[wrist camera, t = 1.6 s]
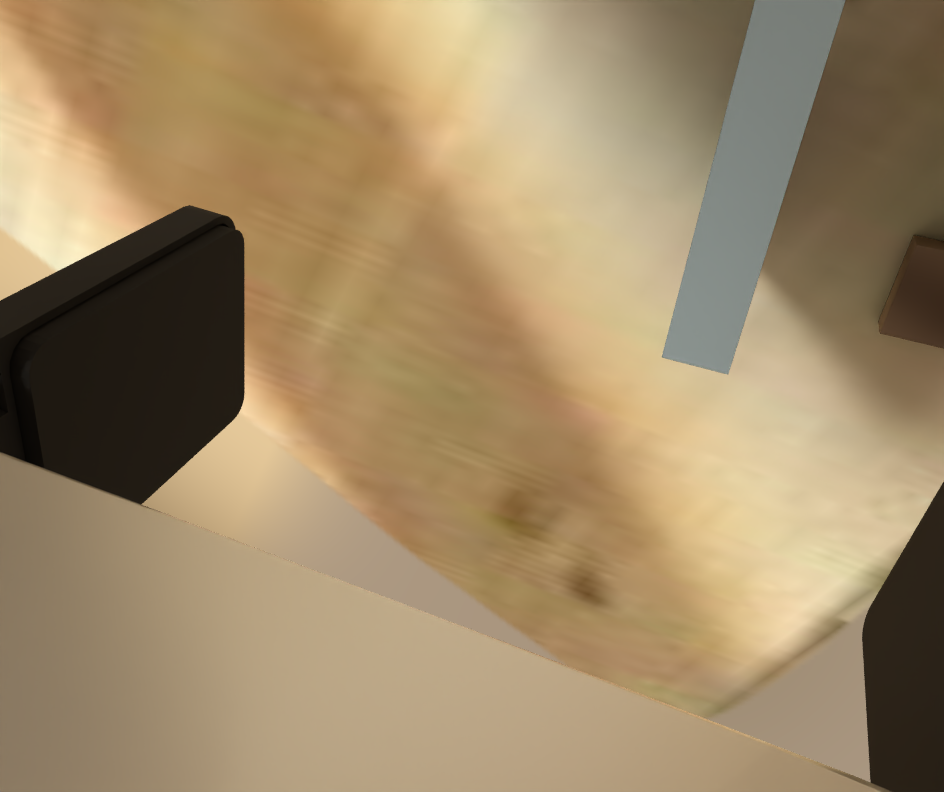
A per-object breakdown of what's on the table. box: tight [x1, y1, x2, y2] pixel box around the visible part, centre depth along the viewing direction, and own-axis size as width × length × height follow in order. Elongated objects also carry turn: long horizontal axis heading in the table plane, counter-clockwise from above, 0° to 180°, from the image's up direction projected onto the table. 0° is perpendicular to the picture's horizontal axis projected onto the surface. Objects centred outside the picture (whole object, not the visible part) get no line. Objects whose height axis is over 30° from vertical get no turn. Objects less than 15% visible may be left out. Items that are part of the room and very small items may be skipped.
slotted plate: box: [662, 0, 845, 374], centre depth 27 cm, size 18×2×14 cm, turn 174°
